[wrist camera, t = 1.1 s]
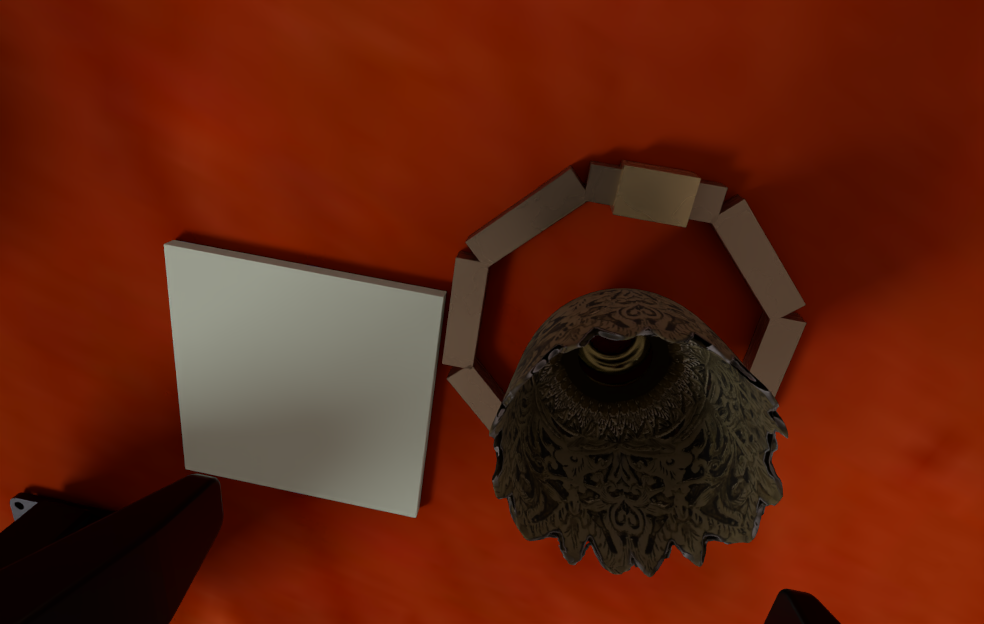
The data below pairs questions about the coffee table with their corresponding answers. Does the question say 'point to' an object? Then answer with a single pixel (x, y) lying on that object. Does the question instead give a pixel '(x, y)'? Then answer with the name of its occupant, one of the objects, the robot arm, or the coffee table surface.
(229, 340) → the felt pad
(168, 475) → the coffee table surface
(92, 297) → the coffee table surface
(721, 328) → the coffee table surface
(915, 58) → the coffee table surface
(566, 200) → the ring
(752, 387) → the cup
